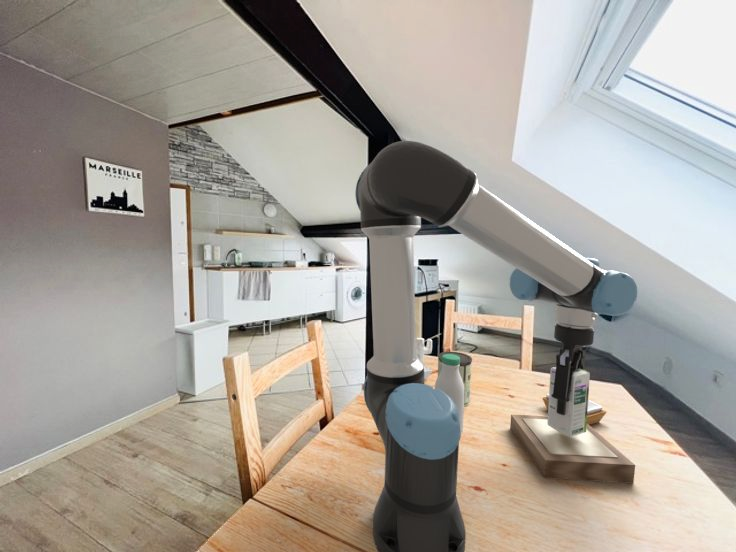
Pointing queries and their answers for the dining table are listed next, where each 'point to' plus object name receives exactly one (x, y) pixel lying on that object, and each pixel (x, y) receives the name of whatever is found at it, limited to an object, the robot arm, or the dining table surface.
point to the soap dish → (593, 411)
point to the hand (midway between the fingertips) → (566, 420)
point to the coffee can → (461, 372)
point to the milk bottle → (452, 383)
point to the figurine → (424, 350)
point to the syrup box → (572, 403)
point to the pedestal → (571, 452)
